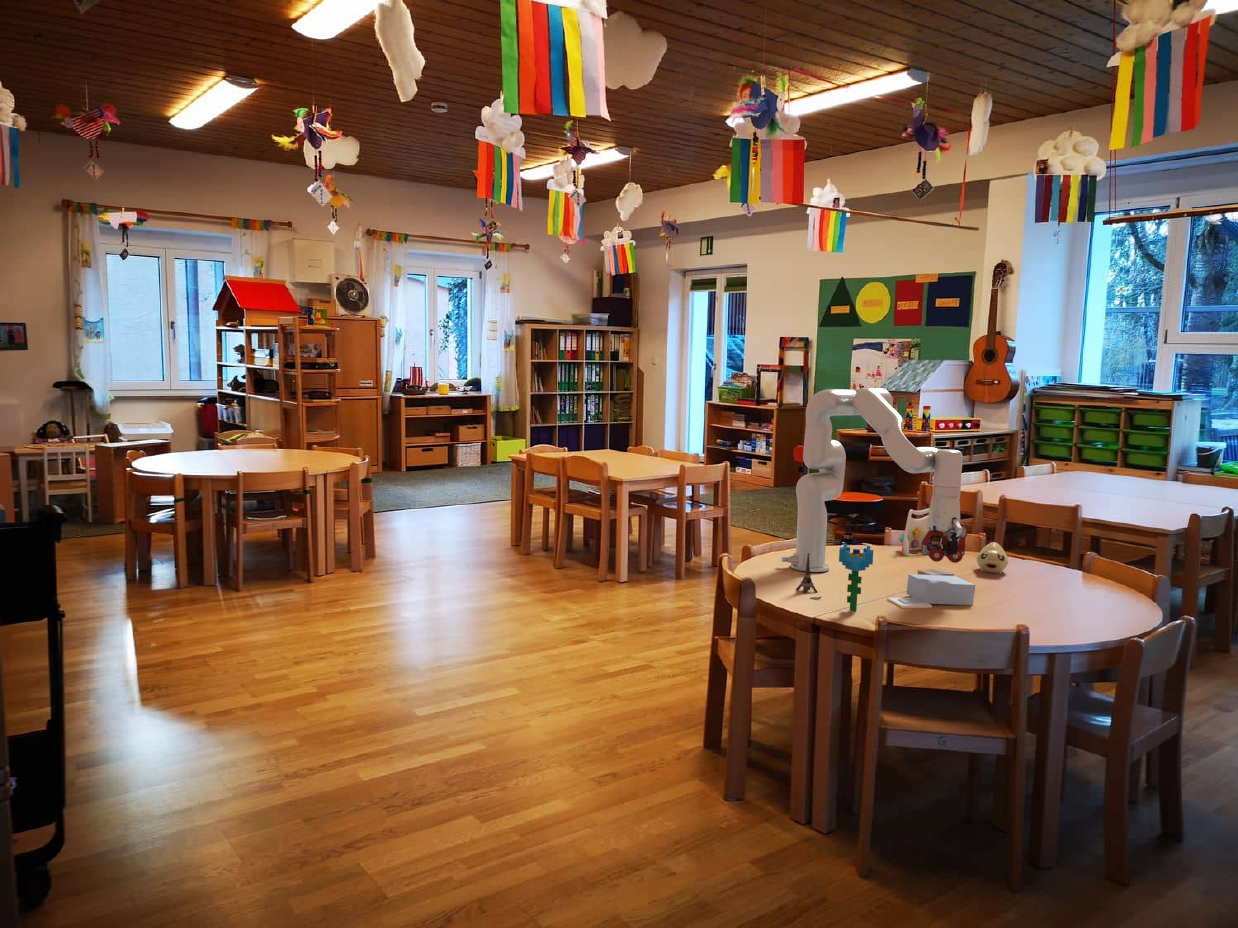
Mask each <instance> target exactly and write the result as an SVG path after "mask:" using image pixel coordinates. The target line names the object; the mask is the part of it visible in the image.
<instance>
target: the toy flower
mask: <svg viewBox="0 0 1238 928" xmlns="http://www.w3.org/2000/svg"><path fill="white" fill-rule="evenodd" d="M862 550H863V552H861V549H858V548H853V549H852V551H851V546H848V544H847V543H843V546H840V547H839V552H838V563H841V566H844V567H845V568H844V569H846V570H849V571H851V573H848V577H847V578H848V579H847V580H848V581H850V584H848V583H847V587H846V588H847V590H846V592H847V593H850V594H849V595H846V603H849V611H850V612H857V609H858V608H857V607H858V595H861V594H862V587H861V586H859V585H860V584H862V581H863V579H862V578H863V577H862V576H859V573H860V572H863V571H866V569H867V568H870V565H873V564H874V549H871V545H866V547H863V549H862Z"/></svg>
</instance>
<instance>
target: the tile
mask: <svg viewBox="0 0 1238 928" xmlns="http://www.w3.org/2000/svg"><path fill="white" fill-rule="evenodd" d="M887 601H888V602H891V603H892V604H894V605H896V606H898V607H899V608H902V609H919V608H920V609H927V608H930V609H931V608H933V604H925V603H923V602H921V601H919V600H917V599H915V598H913V597H888V598H887Z"/></svg>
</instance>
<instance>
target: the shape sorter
mask: <svg viewBox="0 0 1238 928" xmlns="http://www.w3.org/2000/svg"><path fill="white" fill-rule="evenodd" d="M929 509H930V507H928V508H925V509H922V510H914V509H909V511H908V514H907V519H906V524H905V529H904V533H901V534H900V536H899V538H898V540H899V542H900V543H901V544H902V546H901V547H902V548H901V549H902V550H901V554H903V553H904V554H905V555H904V554H903V555H904V556H906V555H908V556H907V557H909V556H919V555H920V554H922V552H921V551H920V552H919V553H920V554H911V553H910V550H921V545H922V541H923V539H924V537H925V536H926V534H927V533H928V531H929V530H930V529H929V526H928V517H929ZM912 514H913V515H916V516H920V515H921V516H922V515H925V514H928V515H925V516H924V517H921V518H914V517H912ZM941 542H942V539H941ZM929 543H930V539H929ZM940 545H941V549H942V548H943V546H942V544H941V543H940ZM920 556H921V555H920Z"/></svg>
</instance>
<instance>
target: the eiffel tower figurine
mask: <svg viewBox="0 0 1238 928" xmlns="http://www.w3.org/2000/svg"><path fill="white" fill-rule="evenodd" d="M809 556H810V554H809V552H808V554H807V564H806V571H804V574H803V578H802V580H801V581H800V584H798V586H797V587H796V588H795V590H796V591H799V590H800V589H801V588H803V589H802V595H806V594H807V590H811V589H812V590H813V593H815V594H819V592H818V590H817V588H816V587H815V586H814V585H815V584H814V582H813V581H812V576H811V572H810V567H809ZM822 597H823V596H821V595H820V596H813V597H810V598H809V600H810V599H811V600H820V599H821V598H822Z"/></svg>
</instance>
